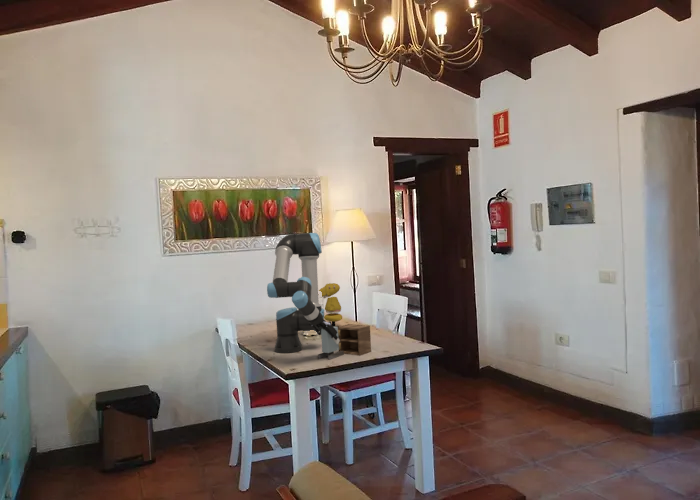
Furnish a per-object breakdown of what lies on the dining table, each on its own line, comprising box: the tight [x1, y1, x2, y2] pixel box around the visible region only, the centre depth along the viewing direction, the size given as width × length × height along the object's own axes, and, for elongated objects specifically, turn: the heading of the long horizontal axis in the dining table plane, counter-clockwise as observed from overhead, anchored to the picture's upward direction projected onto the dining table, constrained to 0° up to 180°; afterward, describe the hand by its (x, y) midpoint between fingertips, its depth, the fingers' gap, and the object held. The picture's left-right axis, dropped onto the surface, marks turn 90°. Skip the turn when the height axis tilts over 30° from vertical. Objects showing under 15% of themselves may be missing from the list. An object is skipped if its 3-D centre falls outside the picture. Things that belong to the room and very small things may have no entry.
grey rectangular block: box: [320, 327, 339, 353], centre depth 298 cm, size 4×9×12 cm, turn 144°
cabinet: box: [317, 323, 372, 360], centre depth 300 cm, size 17×24×14 cm
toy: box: [318, 282, 343, 327], centre depth 385 cm, size 16×12×30 cm
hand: (334, 341), depth 301 cm, fingers closed on grey rectangular block, 4 cm apart
